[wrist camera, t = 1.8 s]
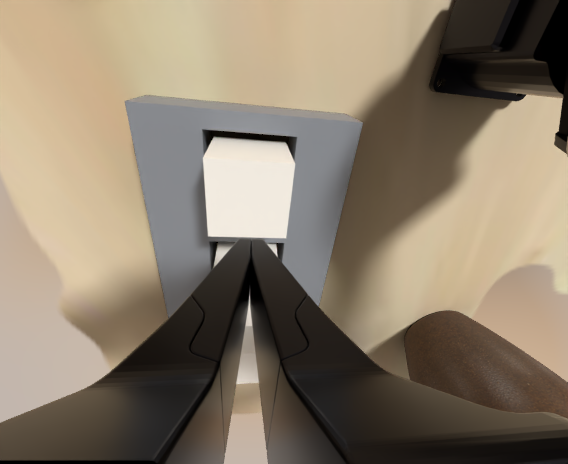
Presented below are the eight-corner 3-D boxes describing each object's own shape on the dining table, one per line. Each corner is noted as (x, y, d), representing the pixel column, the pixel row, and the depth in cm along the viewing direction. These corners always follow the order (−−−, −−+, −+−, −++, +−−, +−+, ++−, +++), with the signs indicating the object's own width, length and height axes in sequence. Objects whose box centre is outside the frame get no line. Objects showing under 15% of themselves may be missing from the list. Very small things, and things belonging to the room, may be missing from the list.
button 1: (269, 309, 22) (272, 352, 19) (266, 338, 25) (268, 382, 21) (221, 310, 22) (215, 354, 19) (222, 340, 24) (217, 384, 21)
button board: (346, 114, 17) (363, 122, 14) (302, 328, 28) (307, 354, 25) (146, 95, 15) (124, 101, 12) (183, 331, 26) (176, 359, 24)
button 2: (285, 141, 15) (295, 163, 12) (279, 204, 17) (286, 238, 14) (214, 136, 14) (202, 157, 11) (216, 201, 17) (207, 236, 13)
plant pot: (404, 278, 25) (576, 519, 12) (529, 287, 28) (785, 491, 15) (355, 367, 33) (427, 574, 20) (457, 367, 36) (581, 549, 22)
